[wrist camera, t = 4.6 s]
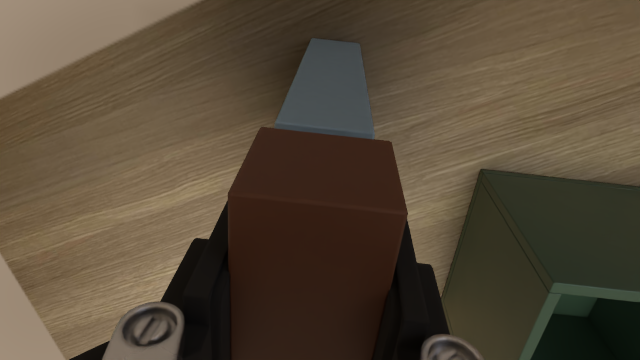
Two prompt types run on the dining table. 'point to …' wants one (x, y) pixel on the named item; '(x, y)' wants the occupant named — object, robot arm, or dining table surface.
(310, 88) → the grey-blue rectangular block
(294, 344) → the reddish brown block
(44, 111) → the dining table surface
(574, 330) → the bin
